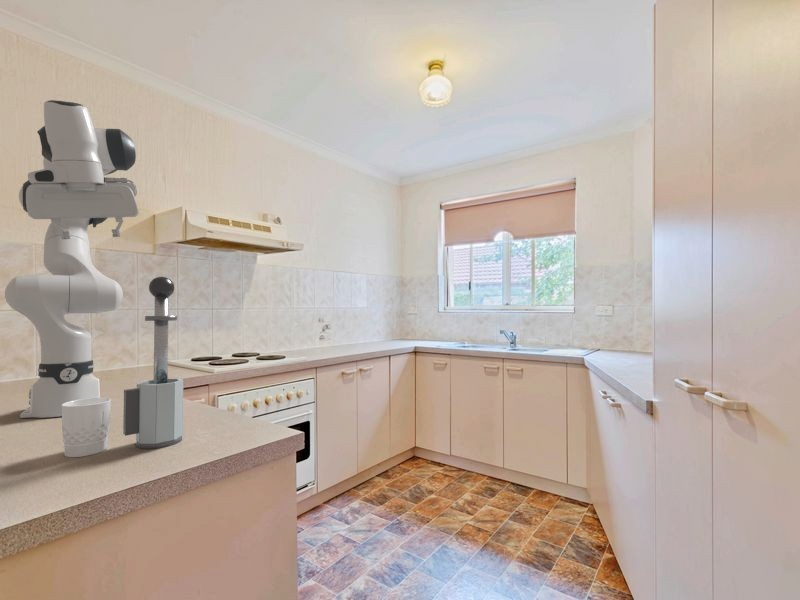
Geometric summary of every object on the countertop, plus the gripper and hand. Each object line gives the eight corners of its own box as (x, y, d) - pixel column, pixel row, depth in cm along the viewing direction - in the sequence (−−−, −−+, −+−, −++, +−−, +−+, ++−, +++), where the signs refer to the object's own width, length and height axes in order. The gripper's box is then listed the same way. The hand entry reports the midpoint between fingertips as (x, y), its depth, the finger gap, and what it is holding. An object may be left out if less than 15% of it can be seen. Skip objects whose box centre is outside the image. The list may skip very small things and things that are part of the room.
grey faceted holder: (120, 444, 83) (121, 383, 83) (175, 433, 90) (176, 377, 91) (128, 454, 77) (129, 388, 77) (187, 442, 84) (187, 381, 85)
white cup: (119, 444, 83) (120, 397, 83) (91, 458, 75) (92, 406, 75) (81, 445, 83) (82, 397, 83) (49, 459, 75) (50, 406, 75)
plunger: (140, 395, 85) (142, 276, 86) (172, 391, 89) (173, 278, 90) (147, 399, 80) (149, 274, 81) (179, 395, 85) (181, 276, 86)
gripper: (133, 179, 98) (143, 235, 100) (23, 177, 86) (37, 240, 89) (134, 176, 93) (145, 235, 95) (17, 173, 81) (32, 240, 84)
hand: (92, 238), depth 92 cm, fingers open, 8 cm apart
